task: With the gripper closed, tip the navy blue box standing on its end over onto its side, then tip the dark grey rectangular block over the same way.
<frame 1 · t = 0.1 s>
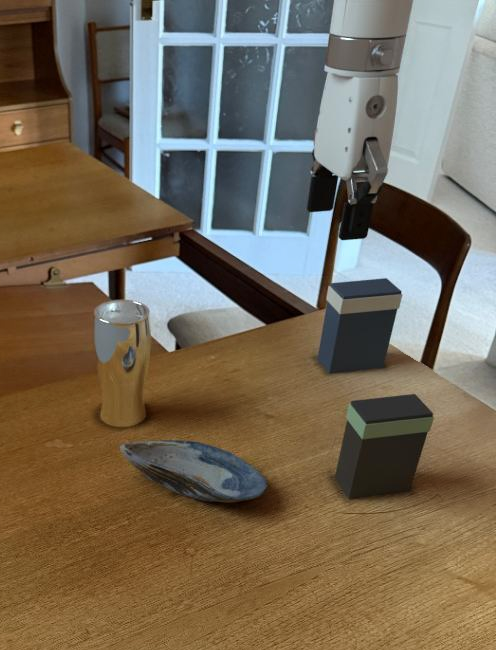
hand: (335, 224, 87), 22 cm above the table, tool pointing down, fingers open, 9 cm apart
navy blue box: (349, 367, 106), on the table
dark grey rectangular block: (370, 490, 84), on the table
beer glass: (123, 420, 97), on the table
seashell: (192, 495, 84), on the table
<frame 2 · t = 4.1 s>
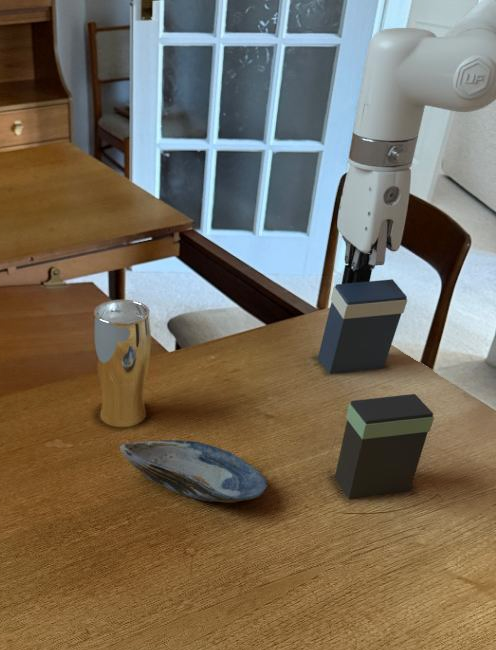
hand: (353, 294, 102), 10 cm above the table, tool pointing down, fingers closed
navy blue box: (349, 366, 105), on the table, tilted 7°
everything else where it was.
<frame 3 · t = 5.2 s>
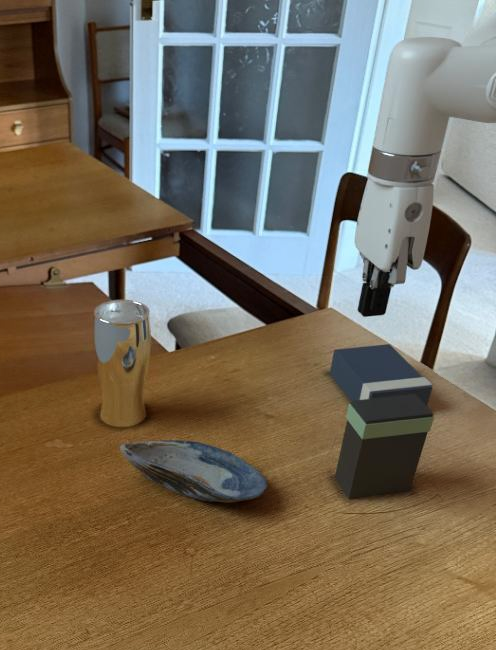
hand: (371, 313, 97), 10 cm above the table, tool pointing down, fingers closed
navy blue box: (358, 361, 102), point 2 cm above the table, tilted 89°
everything else where it was.
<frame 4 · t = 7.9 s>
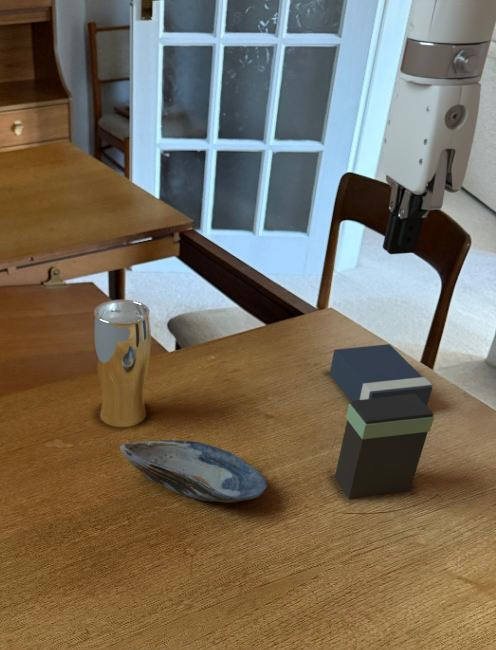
hand: (398, 250, 83), 21 cm above the table, tool pointing down, fingers closed
nothing on the table moved.
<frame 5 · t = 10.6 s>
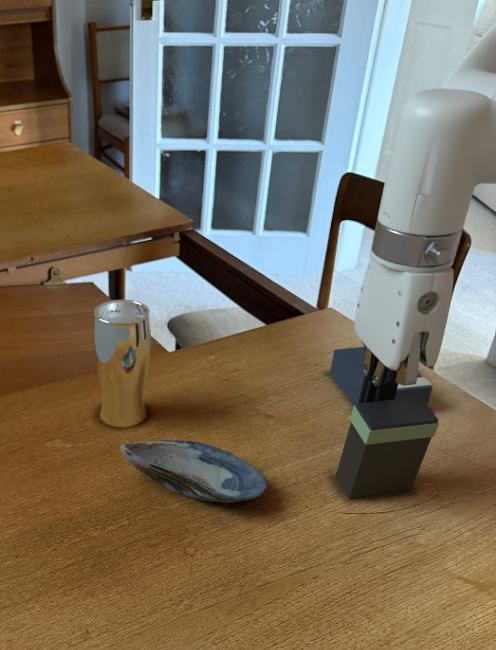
hand: (373, 410, 81), 9 cm above the table, tool pointing down, fingers closed
dark grey rectangular block: (370, 488, 84), on the table, tilted 6°
everything else where it was.
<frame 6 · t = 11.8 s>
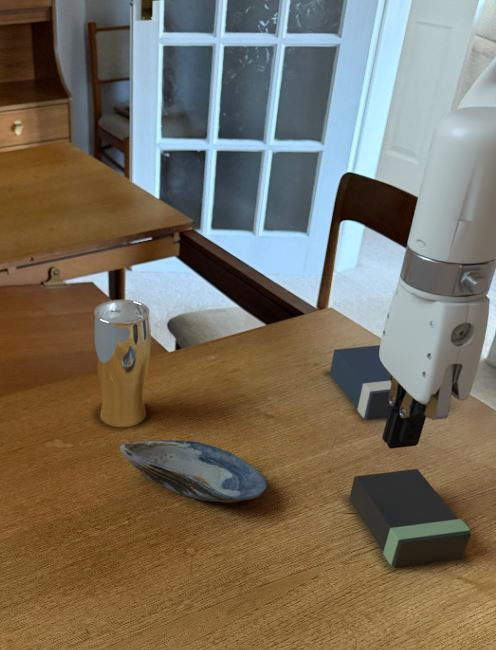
hand: (399, 442, 76), 9 cm above the table, tool pointing down, fingers closed
dark grey rectangular block: (382, 487, 81), point 2 cm above the table, tilted 89°
everything else where it was.
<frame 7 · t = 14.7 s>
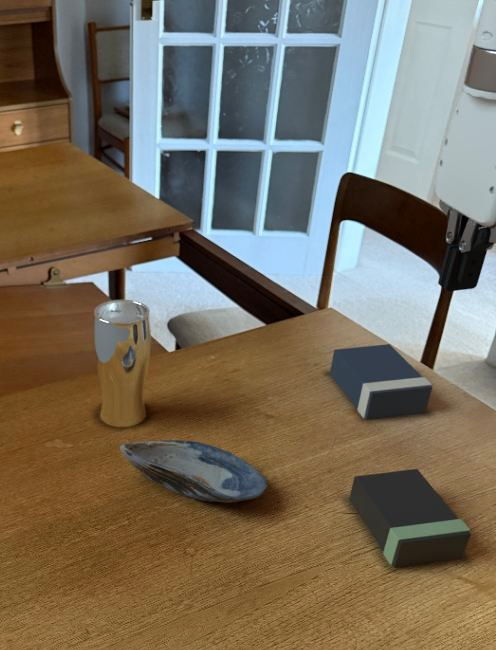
hand: (456, 286, 73), 22 cm above the table, tool pointing down, fingers closed
nothing on the table moved.
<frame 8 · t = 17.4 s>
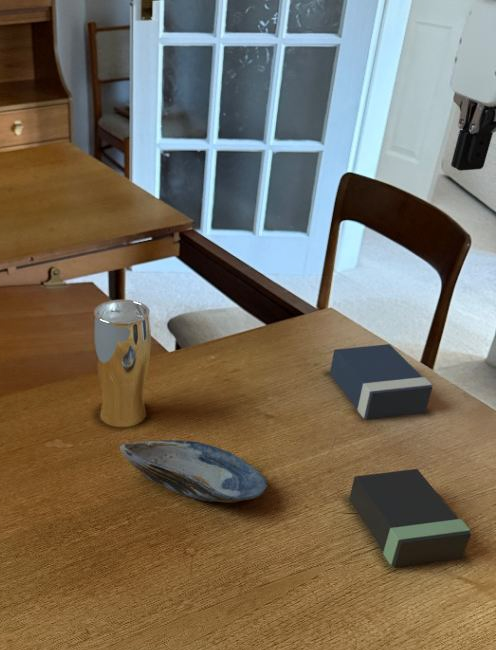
hand: (466, 167, 87), 27 cm above the table, tool pointing down, fingers closed
nothing on the table moved.
at the end: navy blue box tilted 89°; dark grey rectangular block tilted 89° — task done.
